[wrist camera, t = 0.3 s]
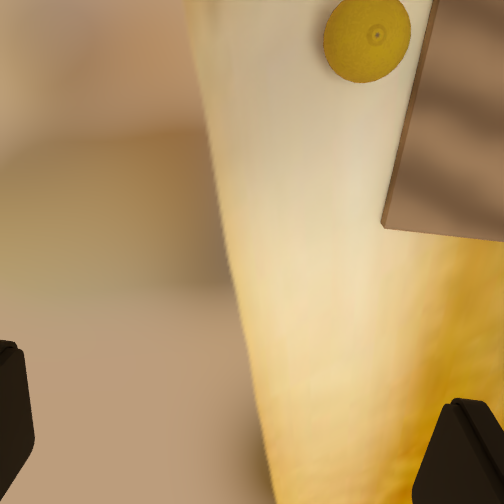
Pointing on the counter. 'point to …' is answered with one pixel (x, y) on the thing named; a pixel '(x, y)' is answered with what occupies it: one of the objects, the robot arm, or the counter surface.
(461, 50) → the serving board
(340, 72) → the lemon
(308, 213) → the counter surface
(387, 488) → the counter surface
